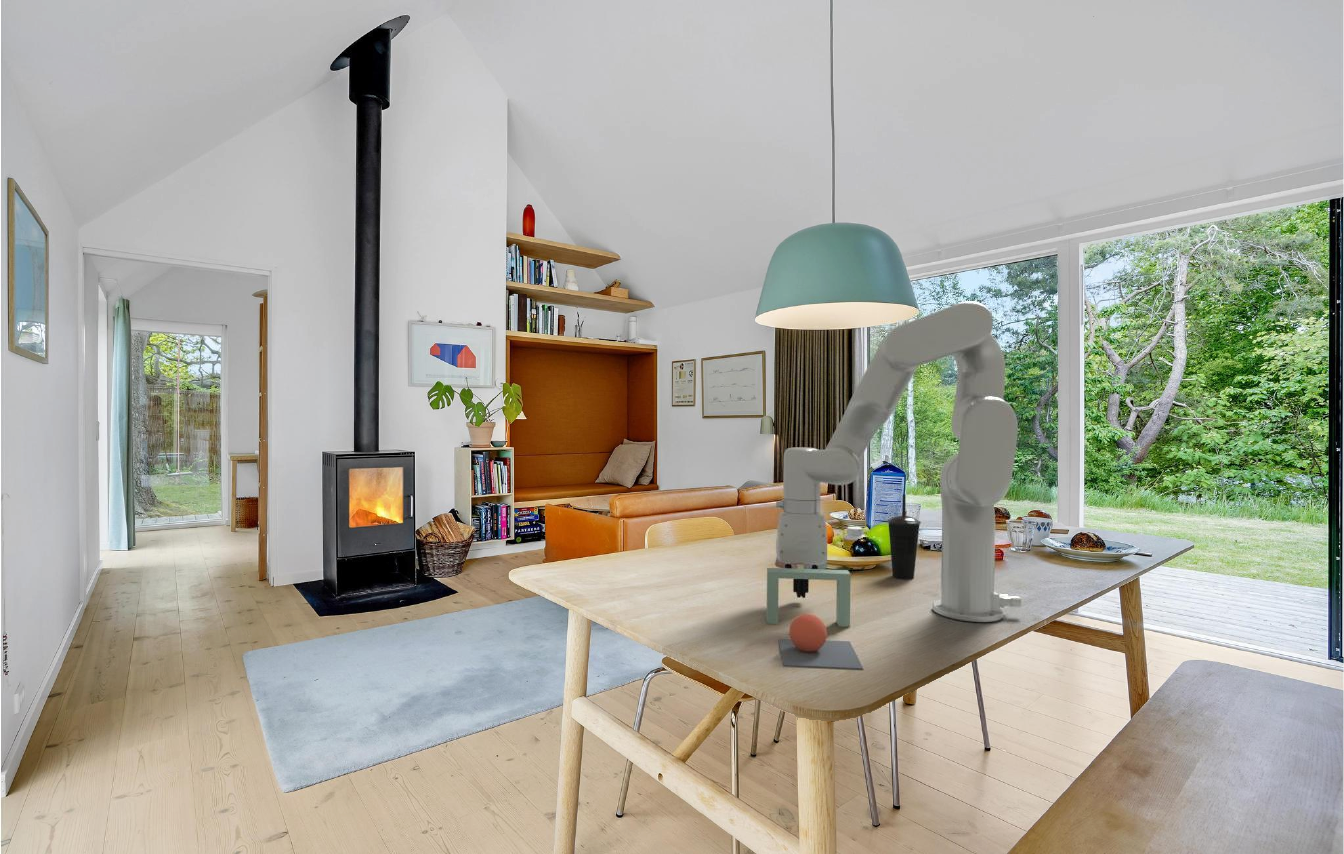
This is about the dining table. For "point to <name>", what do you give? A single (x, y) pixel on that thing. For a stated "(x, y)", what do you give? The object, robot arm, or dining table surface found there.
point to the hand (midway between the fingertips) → (800, 595)
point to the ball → (808, 632)
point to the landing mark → (820, 655)
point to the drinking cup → (903, 544)
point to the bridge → (817, 574)
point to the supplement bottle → (852, 537)
